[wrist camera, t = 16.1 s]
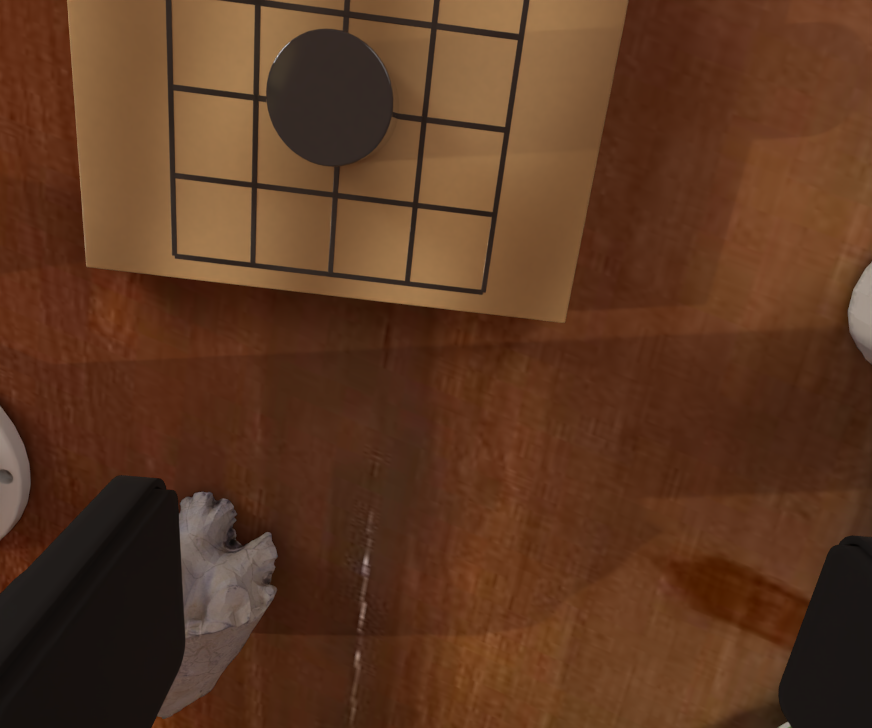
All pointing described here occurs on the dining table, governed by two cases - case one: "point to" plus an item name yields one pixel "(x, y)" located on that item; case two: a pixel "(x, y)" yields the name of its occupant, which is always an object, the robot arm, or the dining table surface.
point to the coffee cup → (862, 314)
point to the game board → (359, 182)
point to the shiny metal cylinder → (331, 98)
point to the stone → (216, 594)
